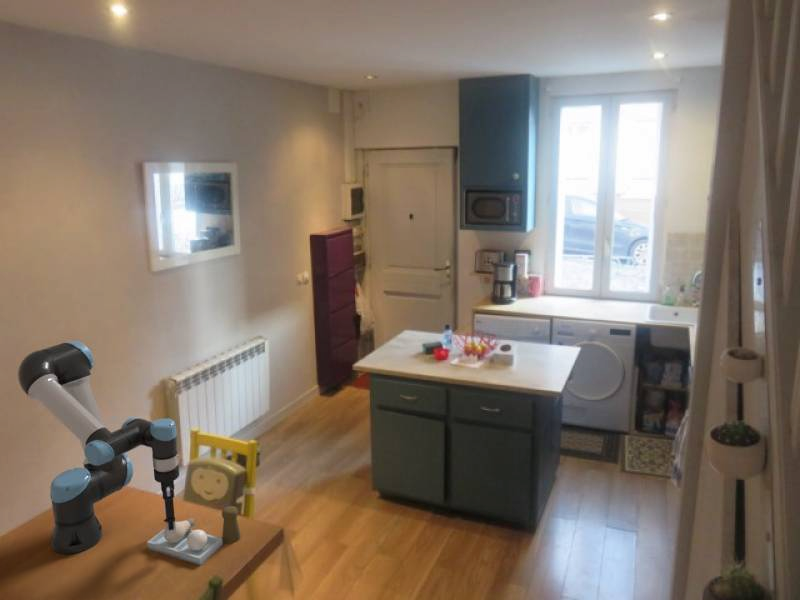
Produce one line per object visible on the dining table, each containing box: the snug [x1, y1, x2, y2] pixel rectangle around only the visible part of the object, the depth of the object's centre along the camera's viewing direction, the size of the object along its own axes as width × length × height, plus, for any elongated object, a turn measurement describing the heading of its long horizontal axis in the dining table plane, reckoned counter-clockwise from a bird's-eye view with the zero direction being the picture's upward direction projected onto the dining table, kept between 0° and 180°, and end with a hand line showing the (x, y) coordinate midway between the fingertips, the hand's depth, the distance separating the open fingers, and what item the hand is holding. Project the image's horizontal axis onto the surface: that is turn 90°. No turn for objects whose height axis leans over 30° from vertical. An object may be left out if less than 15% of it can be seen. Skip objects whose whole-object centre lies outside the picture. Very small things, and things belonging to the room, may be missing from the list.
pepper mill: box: [221, 505, 242, 544], centre depth 207 cm, size 6×6×11 cm
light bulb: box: [164, 517, 196, 543], centre depth 205 cm, size 7×7×11 cm
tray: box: [146, 528, 224, 566], centre depth 203 cm, size 21×11×2 cm, turn 68°
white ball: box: [187, 529, 207, 551], centre depth 200 cm, size 6×6×6 cm
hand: (170, 525), depth 203 cm, fingers open, 13 cm apart
